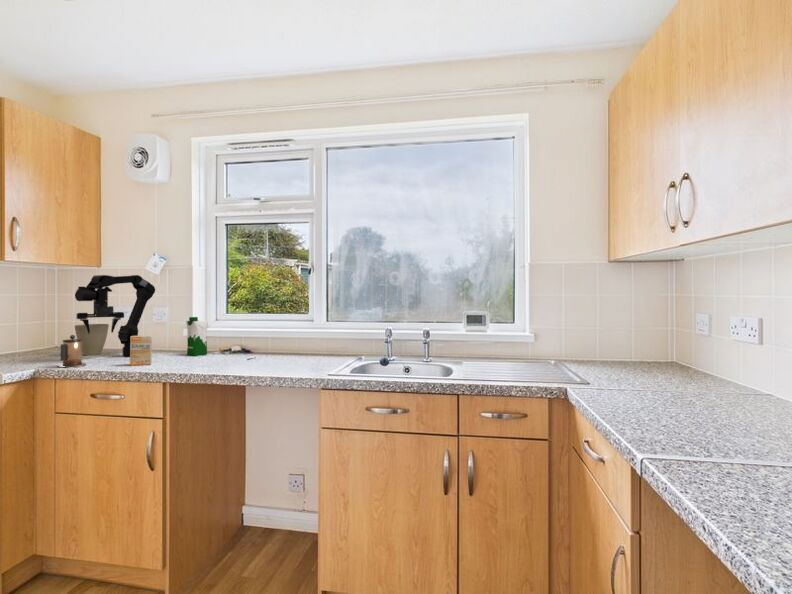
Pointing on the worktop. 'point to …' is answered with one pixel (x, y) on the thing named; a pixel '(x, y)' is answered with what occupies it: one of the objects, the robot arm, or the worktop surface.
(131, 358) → the supplement box
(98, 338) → the plant pot
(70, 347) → the copper cylinder
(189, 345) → the milk carton
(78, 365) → the trivet
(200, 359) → the worktop surface
